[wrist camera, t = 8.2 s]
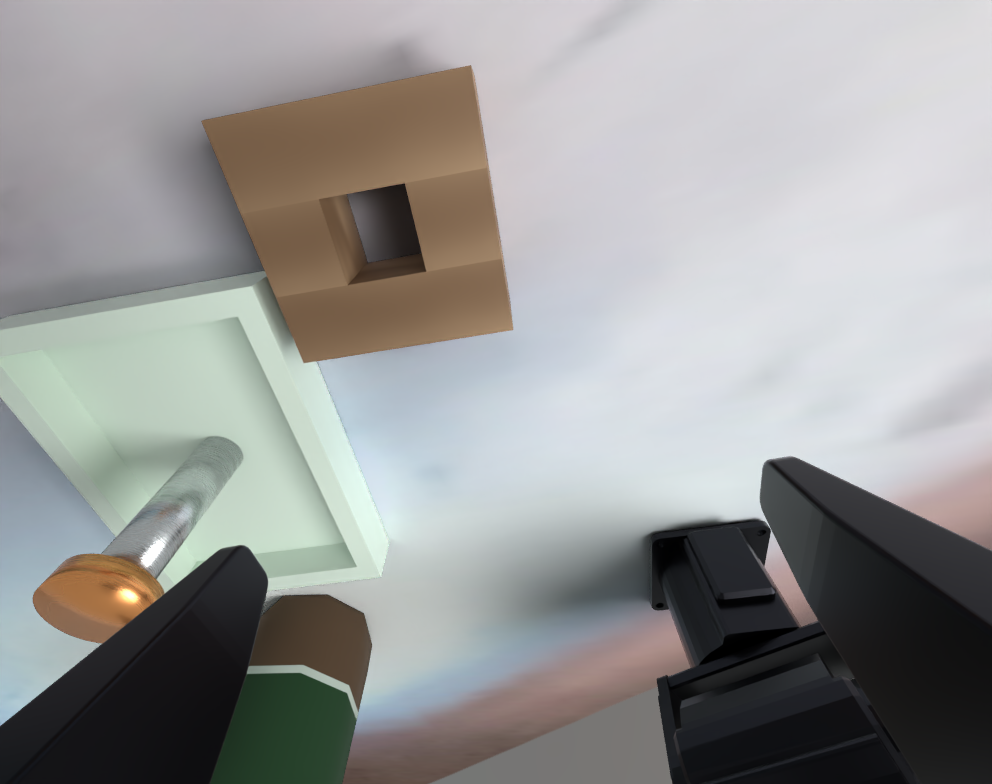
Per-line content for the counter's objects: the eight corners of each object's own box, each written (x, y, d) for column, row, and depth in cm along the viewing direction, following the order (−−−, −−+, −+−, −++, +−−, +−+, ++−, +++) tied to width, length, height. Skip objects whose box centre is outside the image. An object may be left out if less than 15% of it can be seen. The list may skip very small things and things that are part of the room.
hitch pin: (269, 474, 23) (166, 638, 16) (206, 483, 23) (76, 648, 16) (239, 419, 21) (108, 574, 14) (171, 429, 22) (8, 586, 14)
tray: (389, 541, 26) (381, 577, 24) (194, 566, 27) (170, 602, 25) (278, 268, 19) (251, 285, 16) (9, 315, 19) (-49, 338, 17)
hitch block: (510, 302, 19) (513, 330, 17) (328, 332, 20) (303, 363, 17) (474, 75, 15) (470, 65, 13) (248, 121, 16) (201, 120, 13)
